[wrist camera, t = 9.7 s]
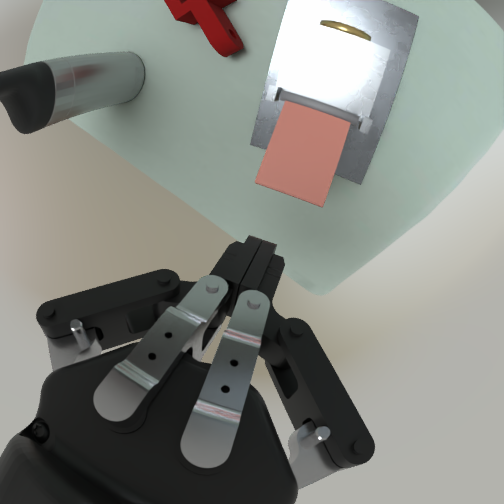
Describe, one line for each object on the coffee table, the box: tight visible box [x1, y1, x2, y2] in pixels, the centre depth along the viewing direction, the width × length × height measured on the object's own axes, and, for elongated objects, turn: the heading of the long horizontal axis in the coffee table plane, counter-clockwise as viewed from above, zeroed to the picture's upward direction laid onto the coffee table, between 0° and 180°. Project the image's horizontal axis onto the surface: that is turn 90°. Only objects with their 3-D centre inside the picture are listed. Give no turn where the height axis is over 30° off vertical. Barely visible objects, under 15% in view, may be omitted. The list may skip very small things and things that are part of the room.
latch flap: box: [255, 90, 360, 207], centre depth 22 cm, size 7×9×1 cm
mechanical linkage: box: [164, 0, 244, 57], centre depth 24 cm, size 16×7×5 cm, turn 26°
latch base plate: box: [250, 0, 419, 185], centre depth 23 cm, size 16×26×12 cm, turn 167°
